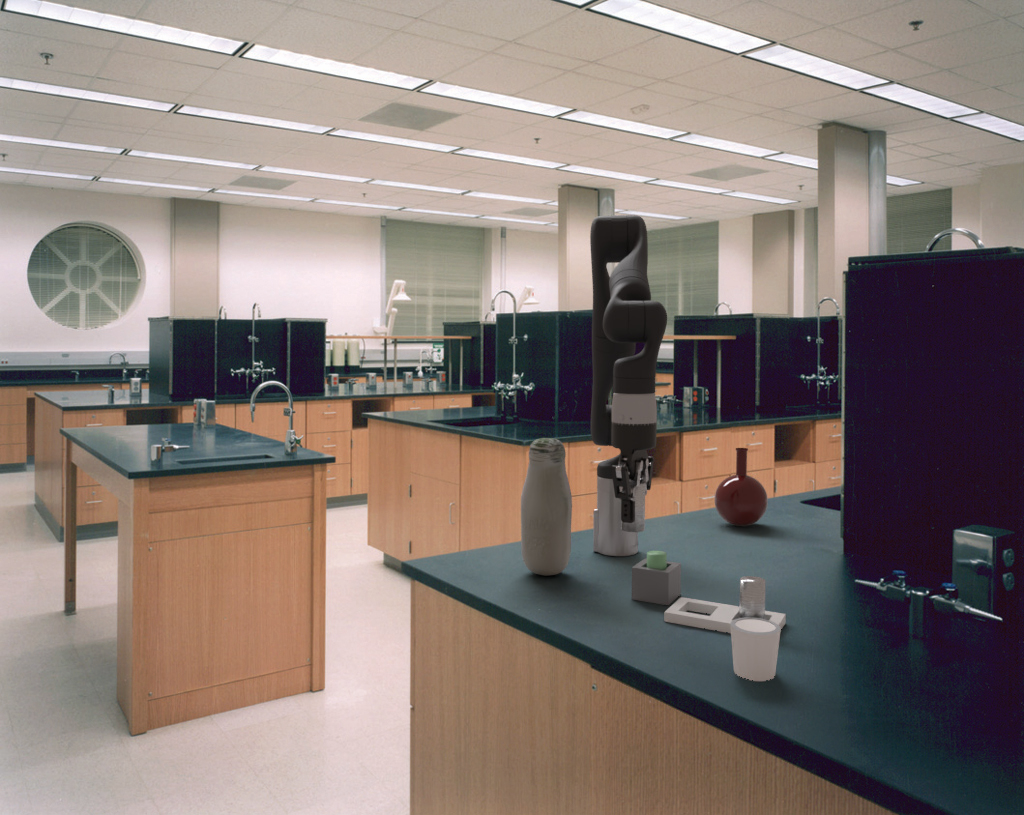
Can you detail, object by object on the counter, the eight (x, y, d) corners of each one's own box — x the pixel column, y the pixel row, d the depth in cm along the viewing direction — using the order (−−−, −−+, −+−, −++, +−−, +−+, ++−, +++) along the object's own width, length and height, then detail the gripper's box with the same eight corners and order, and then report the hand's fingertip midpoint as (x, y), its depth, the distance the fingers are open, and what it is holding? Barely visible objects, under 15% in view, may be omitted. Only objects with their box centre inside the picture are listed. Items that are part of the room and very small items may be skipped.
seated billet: (736, 628, 128) (737, 581, 127) (742, 621, 131) (743, 574, 131) (761, 633, 126) (762, 584, 125) (766, 625, 129) (767, 578, 129)
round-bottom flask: (706, 520, 206) (707, 445, 205) (754, 519, 208) (755, 444, 206) (725, 532, 193) (726, 452, 192) (776, 530, 195) (777, 451, 193)
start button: (643, 586, 143) (644, 554, 143) (650, 581, 146) (650, 549, 146) (662, 589, 141) (662, 556, 141) (668, 583, 145) (669, 552, 144)
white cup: (722, 664, 114) (723, 617, 113) (767, 662, 115) (768, 615, 114) (739, 684, 107) (740, 634, 107) (788, 682, 108) (789, 633, 107)
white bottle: (514, 577, 156) (513, 439, 154) (534, 564, 166) (534, 434, 163) (559, 584, 152) (559, 442, 150) (578, 570, 161) (578, 436, 159)
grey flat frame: (664, 621, 131) (664, 612, 131) (680, 605, 139) (681, 597, 139) (774, 641, 122) (774, 631, 122) (785, 623, 130) (785, 614, 130)
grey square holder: (631, 599, 143) (631, 567, 142) (645, 588, 149) (645, 558, 148) (668, 605, 139) (668, 572, 139) (680, 594, 145) (681, 563, 145)
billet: (617, 530, 132) (617, 484, 131) (626, 525, 136) (626, 480, 135) (639, 533, 130) (640, 486, 129) (648, 528, 134) (648, 482, 133)
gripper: (639, 424, 123) (638, 531, 125) (669, 417, 135) (668, 513, 137) (596, 422, 127) (595, 525, 129) (629, 415, 139) (628, 509, 141)
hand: (633, 519), depth 133 cm, fingers closed on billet, 4 cm apart
